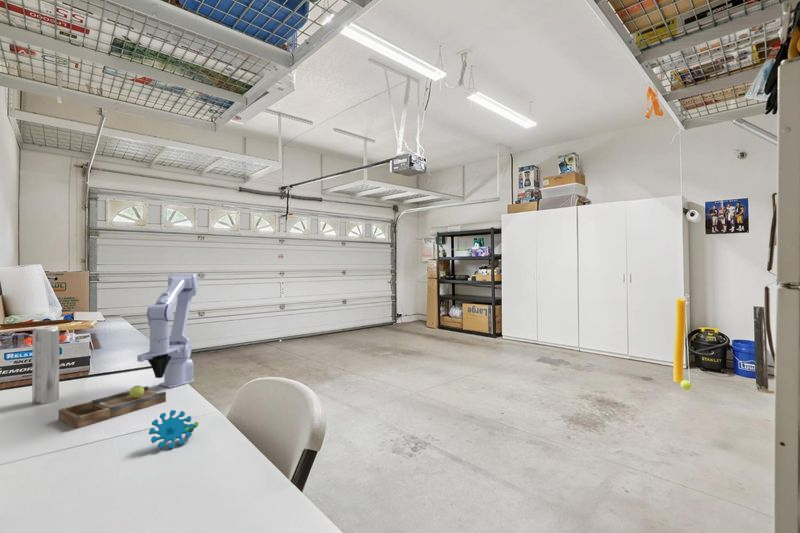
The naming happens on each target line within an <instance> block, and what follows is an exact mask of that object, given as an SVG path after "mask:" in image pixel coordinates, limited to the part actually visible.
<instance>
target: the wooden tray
mask: <svg viewBox="0 0 800 533" xmlns="http://www.w3.org/2000/svg"><path fill="white" fill-rule="evenodd" d="M142 387H143V388H144V394H143V395H142V396H141V397H139V398H132V397H131V396H130V394H129V393H130V390H127V391H123V392H119V393H116V394H111V395H108V396H107V395H106V396H104V397H100V398H97V399H93V400H91V401H87V402H83V403H80V404H75V405H72V406H71V405H70V406H68V407H63V408H60V409H58V421H60V422H62V423H64V424H66V425H69V426H70V427H72V428H74V429H77V430H78V429H80V428H83V427H87V426H90V425H93V424H96V423H100V422H104V421H106V420H110V419H113V418H117V417H120V416H122V415H123V416H124V415H126V414H129V413H132V412H136V411H139V410H142V409H145V408H148V407H152V406H156V405H159V404H162V403H165V402H167V401H166V399H167V391H162V392H157V391H156V392H155V391H153V390H150V389H149V386H148V385H147V386H142Z"/></svg>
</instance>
